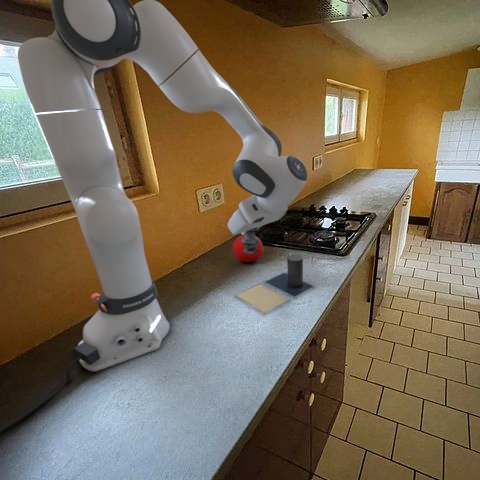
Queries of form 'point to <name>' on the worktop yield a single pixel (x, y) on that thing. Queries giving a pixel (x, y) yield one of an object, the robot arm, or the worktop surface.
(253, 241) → the grey chess piece
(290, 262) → the dark grey cylinder
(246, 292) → the oat mat
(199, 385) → the worktop surface
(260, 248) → the tomato
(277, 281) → the slate mat
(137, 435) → the worktop surface
